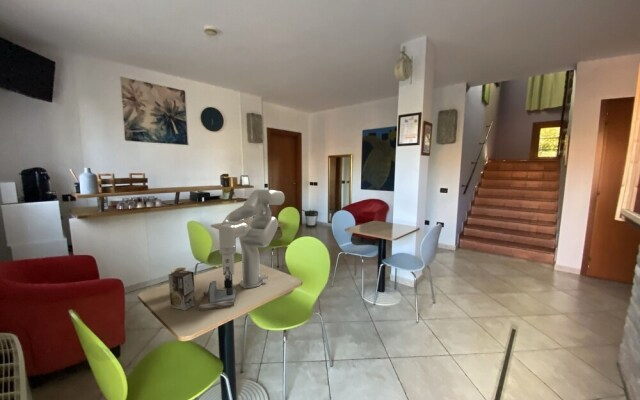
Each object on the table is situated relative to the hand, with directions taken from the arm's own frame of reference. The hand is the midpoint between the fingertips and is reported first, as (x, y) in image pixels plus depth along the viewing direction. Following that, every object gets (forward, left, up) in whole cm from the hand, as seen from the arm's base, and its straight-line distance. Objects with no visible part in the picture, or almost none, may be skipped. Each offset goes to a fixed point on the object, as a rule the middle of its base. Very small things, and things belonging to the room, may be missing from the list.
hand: (228, 284), depth 128 cm
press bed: (+5, -1, -8) cm, 10 cm away
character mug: (+25, -15, -9) cm, 30 cm away
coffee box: (+21, -1, -9) cm, 22 cm away
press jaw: (+3, -1, -7) cm, 8 cm away
